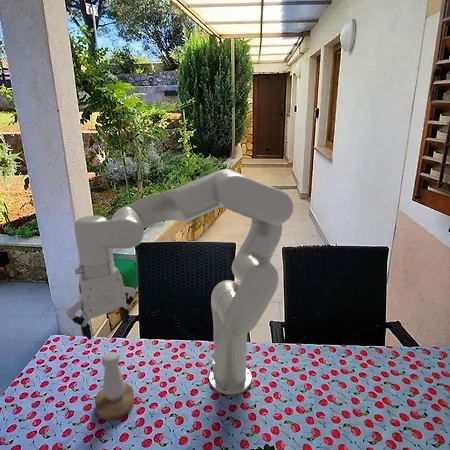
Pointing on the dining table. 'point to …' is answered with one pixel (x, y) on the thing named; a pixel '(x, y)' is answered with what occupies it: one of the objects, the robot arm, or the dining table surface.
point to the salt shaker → (112, 377)
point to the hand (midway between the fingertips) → (107, 329)
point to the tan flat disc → (114, 405)
